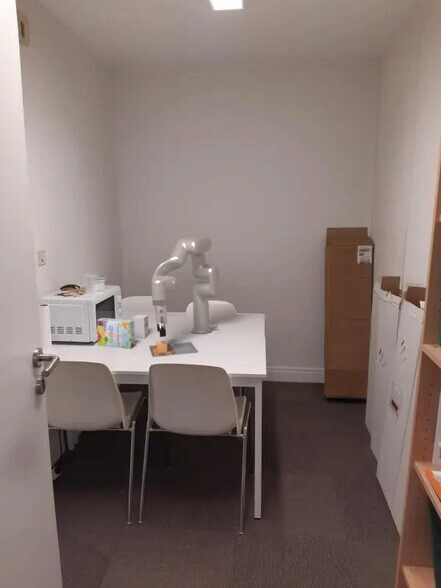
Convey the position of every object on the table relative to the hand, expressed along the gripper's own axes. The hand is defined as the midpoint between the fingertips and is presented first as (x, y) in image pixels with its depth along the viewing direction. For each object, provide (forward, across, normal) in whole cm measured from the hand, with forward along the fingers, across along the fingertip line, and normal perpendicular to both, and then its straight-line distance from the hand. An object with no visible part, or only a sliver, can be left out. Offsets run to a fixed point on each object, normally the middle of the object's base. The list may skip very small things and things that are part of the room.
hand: (161, 333), depth 236 cm
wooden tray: (+10, -1, +1) cm, 11 cm away
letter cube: (+10, -1, +1) cm, 10 cm away
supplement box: (+11, +34, +8) cm, 37 cm away
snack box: (+11, +20, +23) cm, 32 cm away
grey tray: (+11, -1, -11) cm, 16 cm away
